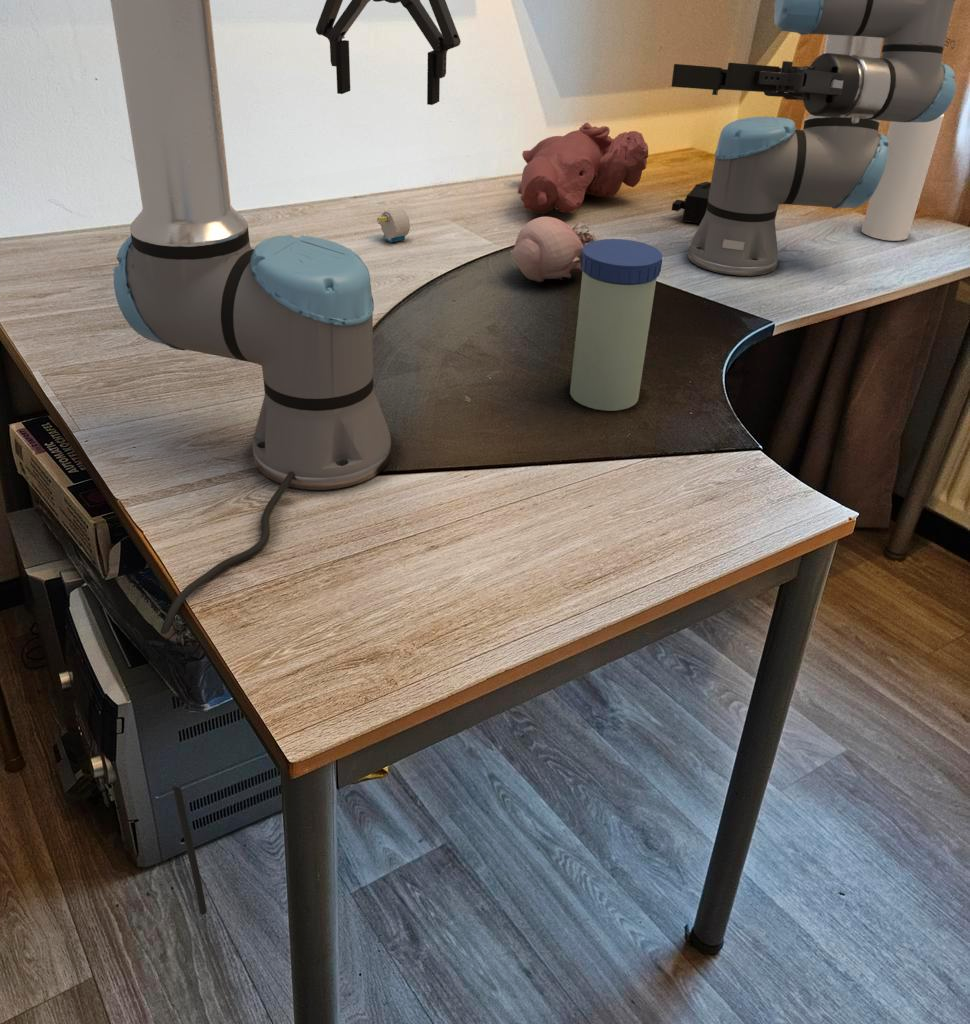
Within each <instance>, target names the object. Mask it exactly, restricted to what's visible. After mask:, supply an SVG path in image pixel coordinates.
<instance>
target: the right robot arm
mask: <svg viewBox="0 0 970 1024" xmlns="http://www.w3.org/2000/svg"><path fill="white" fill-rule="evenodd" d="M955 2H957V1H956V0H775V1H774V8H773V10H774V12H773V13H774V14H773V19H774V20H773V22H774V25H775V27H776V28H777V29H778V30H779V31H781V32H788V33H797V34H799V35H800V36H804V35H805V36H806V35H823V36H824V35H826V36H825V42H824V51H823V53H822V54H820V55H818V56H817V57H816V58H815V59H814V60H813V61H812V62H811V64H810V65H803V66H793V64H794V61H788V60H783V61H782V62H781V67H780V66H776V65H774V66H773V65H763V64H751V63H740V62H728V64H727V68H723V67H721V66H720V67H719V66H706V65H695V64H694V65H693V64H684V63H683V64H681V63H674V64H673V71H672V79H671V86H670V87H671V88H685V89H686V88H687V89H696V90H697V89H698V90H710V91H711V90H712V91H711V95H712V96H718V94H719V93H718V92H719V91H720V90H723V91H738V92H739V91H740V92H755V93H763V94H764V95H765V96H767V97H776V98H777V97H778V98H783V99H785V100H793V101H802V102H803V106H804V108H805V110H806V111H807V112H808V114H809V115H808V116H807V117H805V119H804V122H803V129H797V127H796V123H795V121H794V120H792V119H790V118H788V117H784V116H783V117H781V116H780V117H776V116H768V115H767V116H753V117H745V118H740V119H737V120H733V121H731V122H729V123H727V124H726V125H725V126H724V127H723V128H722V130H721V131H720V134H719V138H718V142H717V145H716V149H715V152H714V163H713V168H712V175H711V179H710V183H711V186H710V192H709V197H708V203H707V209H706V213H705V215H704V217H703V219H702V221H701V223H700V224H699V225H698V227H697V229H696V232H695V233H694V235H693V237H692V239H691V241H690V244H689V246H688V251H687V258H688V260H689V261H690V262H691V263H693V264H694V265H696V266H697V267H699V268H702V269H704V270H707V271H710V272H714V273H718V274H722V275H723V274H724V275H730V276H739V277H740V276H743V277H745V276H747V277H752V276H761V275H766V274H769V273H771V272H773V271H775V269H776V268H777V264H778V261H779V247H778V239H777V238H778V237H777V231H776V218H777V213H778V209H779V207H780V206H779V205H790V206H791V205H793V206H794V205H795V206H806V207H820V208H832V209H834V210H836V209H839V208H841V209H844V208H845V209H854V208H855V209H856V208H859V207H862V206H864V205H865V204H866V203H867V202H869V200H870V198H871V196H872V195H873V193H874V191H875V190H876V188H877V186H878V184H879V182H880V180H881V177H882V175H883V172H884V169H885V165H886V161H887V157H888V144H889V143H888V139H887V137H886V136H887V135H883V133H879V128H880V127H879V126H880V121H883V122H890V121H893V122H909V123H910V122H929V121H933V120H935V119H937V118H939V117H940V116H941V115H942V114H945V113H946V112H947V110H948V109H949V107H950V106H951V104H952V102H953V100H954V98H955V94H956V90H957V84H956V81H955V78H956V74H955V72H954V70H953V68H952V67H951V66H949V65H948V64H946V63H943V57H944V54H943V52H944V49H945V48H944V47H945V46H944V44H945V43H946V42H945V41H946V40H947V39H946V38H947V34H948V30H949V26H950V22H951V17H952V15H953V10H954V6H955Z"/></svg>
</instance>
